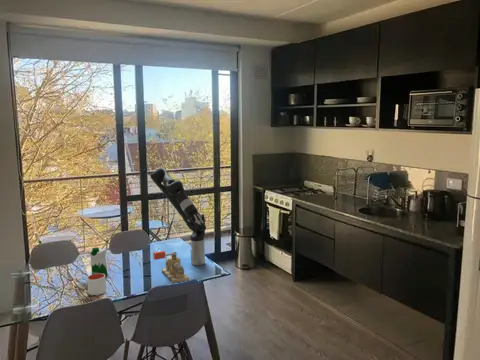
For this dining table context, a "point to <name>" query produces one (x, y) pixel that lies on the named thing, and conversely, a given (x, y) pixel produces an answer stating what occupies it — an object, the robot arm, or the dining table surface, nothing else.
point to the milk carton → (98, 261)
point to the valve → (174, 270)
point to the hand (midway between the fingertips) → (203, 229)
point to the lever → (162, 254)
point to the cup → (96, 284)
